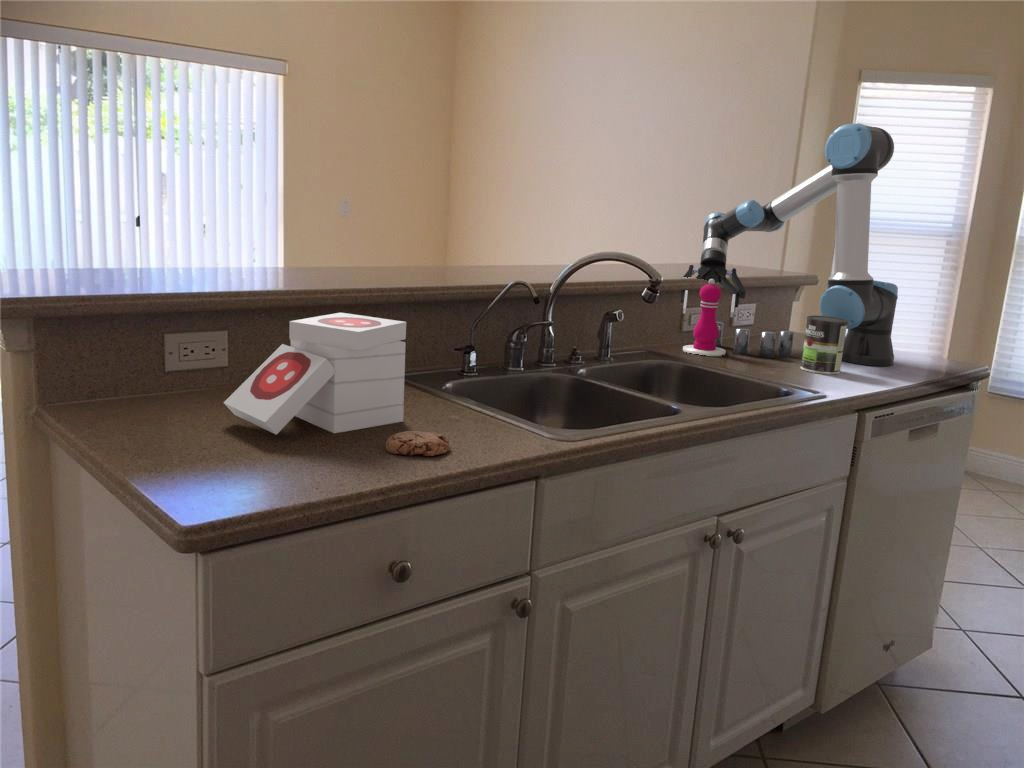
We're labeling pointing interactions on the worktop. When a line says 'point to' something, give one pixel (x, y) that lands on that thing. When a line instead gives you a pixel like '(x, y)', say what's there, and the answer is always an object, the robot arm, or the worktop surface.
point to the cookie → (417, 443)
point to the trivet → (701, 352)
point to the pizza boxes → (329, 376)
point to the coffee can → (823, 345)
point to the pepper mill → (707, 318)
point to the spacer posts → (765, 343)
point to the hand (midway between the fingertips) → (708, 312)
